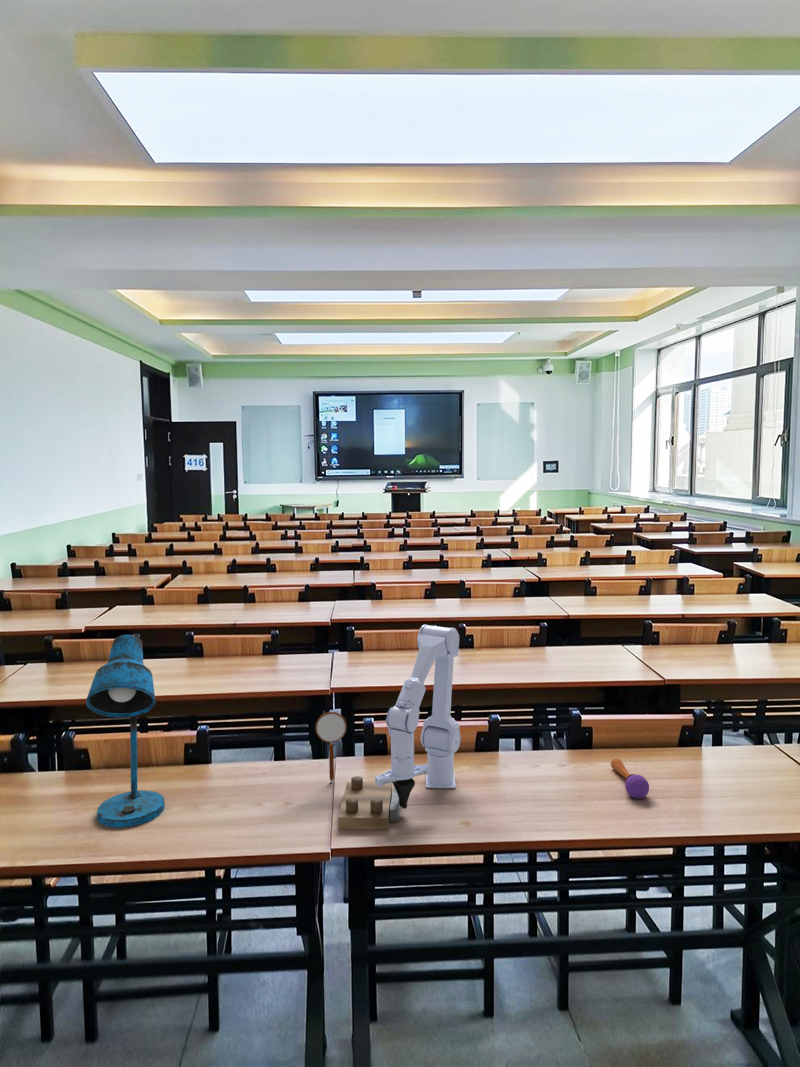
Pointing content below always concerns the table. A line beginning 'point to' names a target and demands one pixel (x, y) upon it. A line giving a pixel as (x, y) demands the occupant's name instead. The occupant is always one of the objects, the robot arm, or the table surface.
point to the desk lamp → (130, 694)
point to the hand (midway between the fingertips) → (402, 807)
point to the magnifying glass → (331, 733)
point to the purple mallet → (631, 781)
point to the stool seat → (365, 805)
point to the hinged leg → (394, 806)
